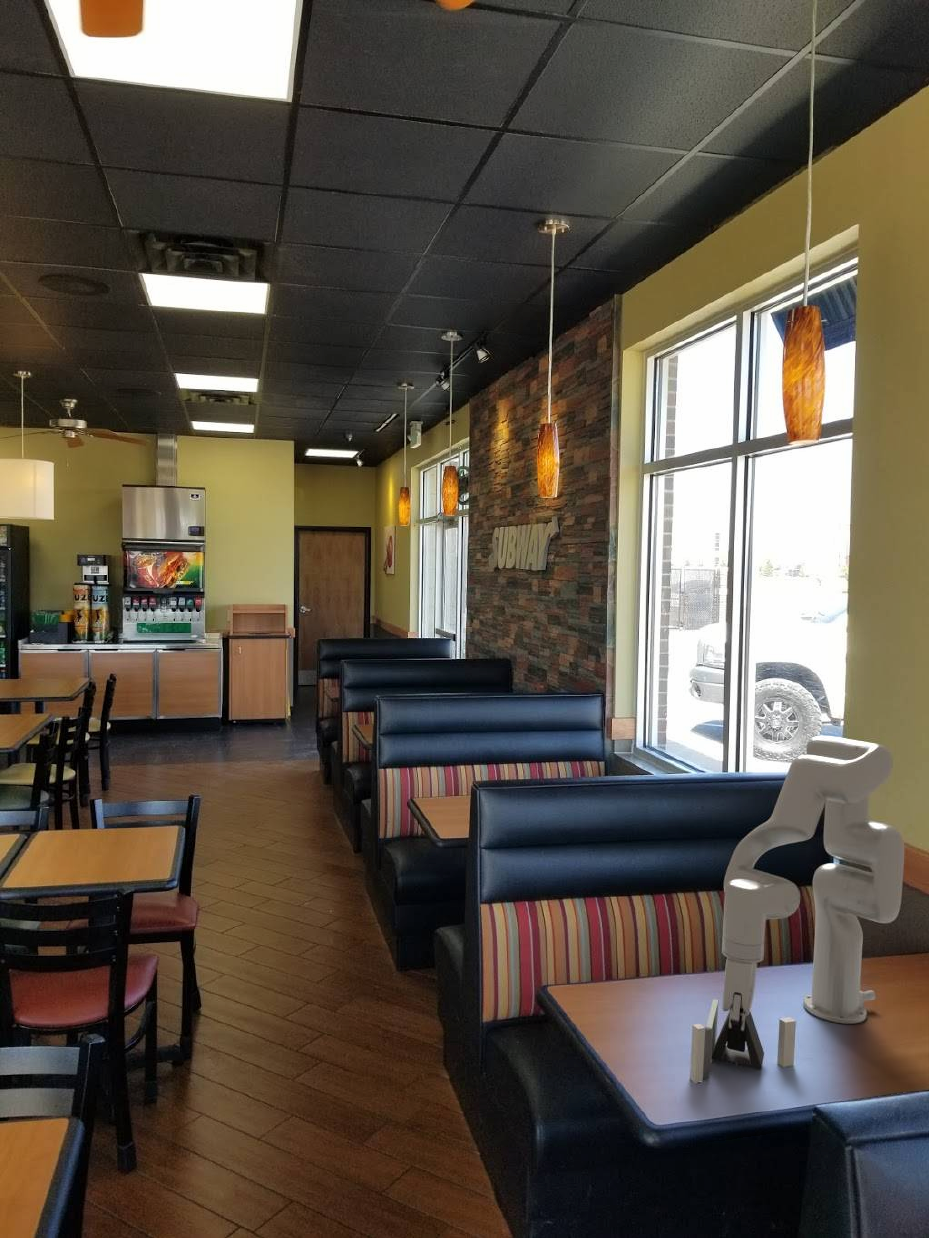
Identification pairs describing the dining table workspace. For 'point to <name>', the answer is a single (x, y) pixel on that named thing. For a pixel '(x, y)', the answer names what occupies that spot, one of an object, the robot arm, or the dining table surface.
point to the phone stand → (746, 1058)
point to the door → (710, 1038)
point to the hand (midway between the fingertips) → (738, 1040)
